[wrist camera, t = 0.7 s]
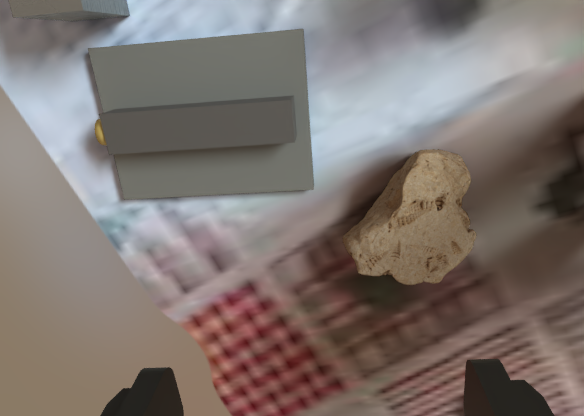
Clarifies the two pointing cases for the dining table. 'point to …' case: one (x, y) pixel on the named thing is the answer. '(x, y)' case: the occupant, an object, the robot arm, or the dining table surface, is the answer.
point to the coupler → (206, 115)
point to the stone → (416, 222)
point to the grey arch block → (68, 9)
